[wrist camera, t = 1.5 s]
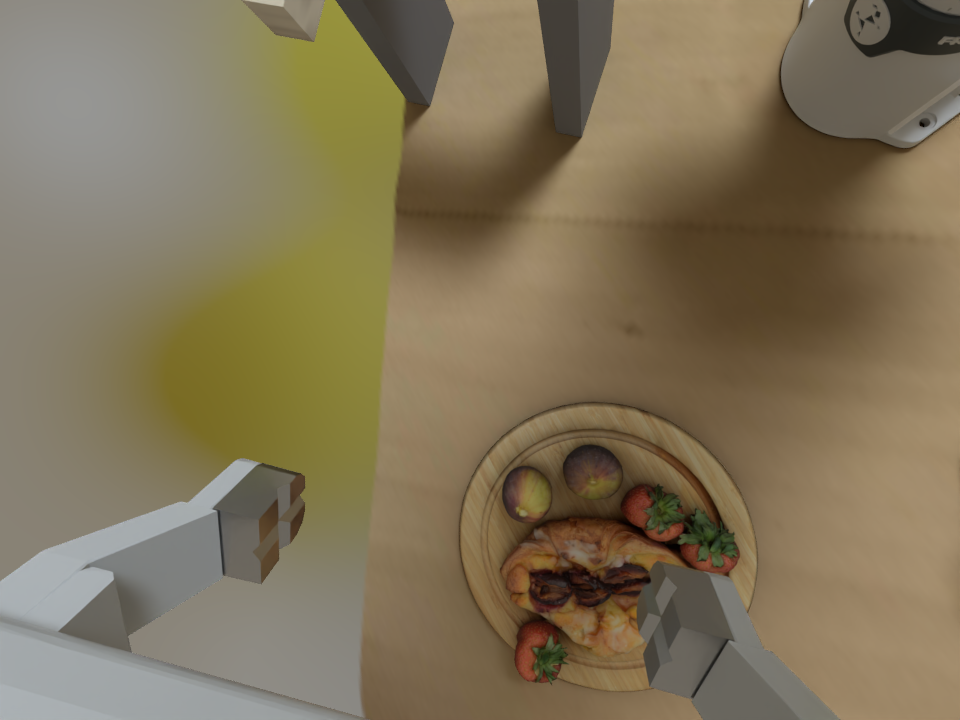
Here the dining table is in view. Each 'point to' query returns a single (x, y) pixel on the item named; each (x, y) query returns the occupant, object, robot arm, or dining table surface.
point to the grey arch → (427, 28)
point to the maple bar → (289, 16)
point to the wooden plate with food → (594, 536)
